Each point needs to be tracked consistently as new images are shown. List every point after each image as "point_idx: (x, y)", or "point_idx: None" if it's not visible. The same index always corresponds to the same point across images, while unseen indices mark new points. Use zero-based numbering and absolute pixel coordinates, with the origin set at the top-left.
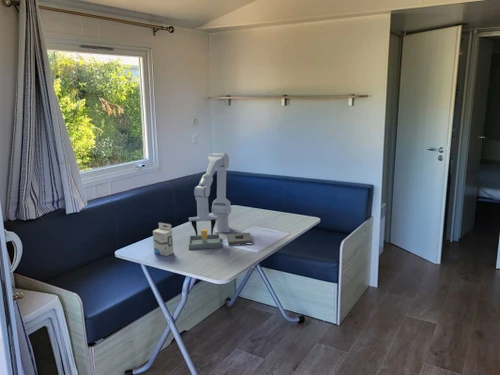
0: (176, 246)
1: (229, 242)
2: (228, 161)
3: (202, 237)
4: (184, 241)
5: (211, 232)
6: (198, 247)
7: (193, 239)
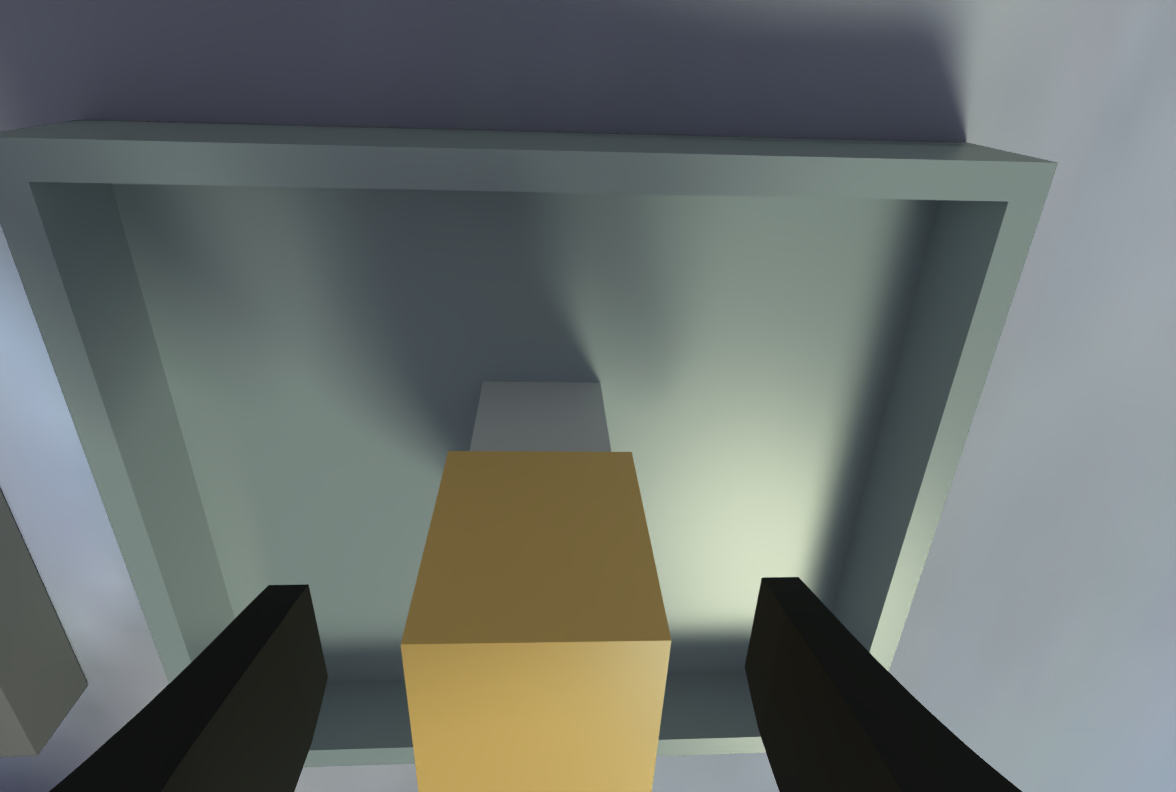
0: (1161, 412)
1: None
2: None
3: (603, 476)
4: (927, 632)
5: (259, 633)
6: (724, 139)
7: None
